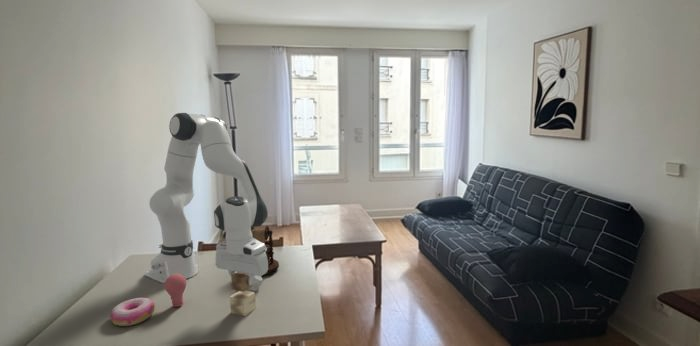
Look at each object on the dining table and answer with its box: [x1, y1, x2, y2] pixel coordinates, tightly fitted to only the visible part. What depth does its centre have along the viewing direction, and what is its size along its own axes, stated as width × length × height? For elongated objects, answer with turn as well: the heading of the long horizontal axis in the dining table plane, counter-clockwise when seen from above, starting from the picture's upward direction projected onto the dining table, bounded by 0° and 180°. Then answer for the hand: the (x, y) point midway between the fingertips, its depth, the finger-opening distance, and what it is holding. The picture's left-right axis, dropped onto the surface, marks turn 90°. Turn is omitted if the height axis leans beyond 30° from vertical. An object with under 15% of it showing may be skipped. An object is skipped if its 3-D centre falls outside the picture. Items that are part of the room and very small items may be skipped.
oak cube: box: [229, 291, 257, 317], centre depth 140 cm, size 6×6×6 cm
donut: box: [110, 297, 156, 327], centre depth 137 cm, size 14×13×5 cm
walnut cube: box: [230, 272, 253, 292], centre depth 139 cm, size 5×5×5 cm
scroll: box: [251, 225, 280, 276], centre depth 174 cm, size 15×15×20 cm
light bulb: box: [164, 274, 187, 308], centre depth 144 cm, size 7×7×12 cm
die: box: [246, 275, 263, 292], centre depth 156 cm, size 8×9×10 cm
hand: (242, 283), depth 139 cm, fingers closed on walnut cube, 5 cm apart
